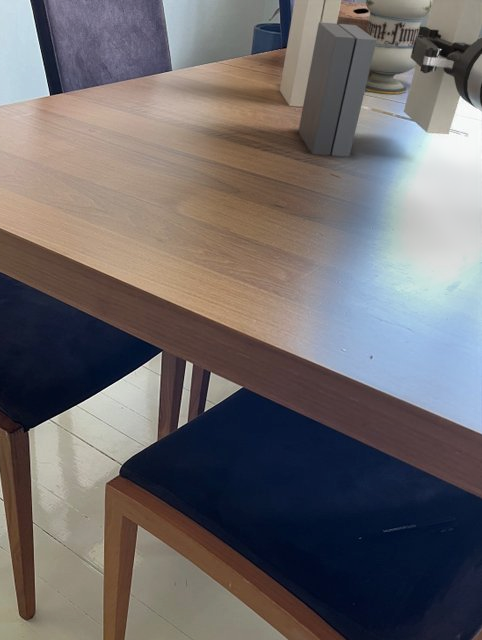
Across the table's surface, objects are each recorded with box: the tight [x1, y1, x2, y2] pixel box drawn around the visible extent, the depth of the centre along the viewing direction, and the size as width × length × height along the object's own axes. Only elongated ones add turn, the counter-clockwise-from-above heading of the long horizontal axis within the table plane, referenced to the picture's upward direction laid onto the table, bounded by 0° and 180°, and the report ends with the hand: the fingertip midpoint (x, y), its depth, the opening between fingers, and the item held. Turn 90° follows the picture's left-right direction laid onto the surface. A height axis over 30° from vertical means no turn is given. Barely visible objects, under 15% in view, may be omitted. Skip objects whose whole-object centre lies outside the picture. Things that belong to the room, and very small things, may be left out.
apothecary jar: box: [365, 0, 433, 95], centre depth 134 cm, size 12×12×18 cm
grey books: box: [297, 22, 377, 157], centre depth 100 cm, size 5×11×15 cm, turn 0°
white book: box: [403, 0, 482, 135], centre depth 97 cm, size 3×11×17 cm, turn 0°
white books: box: [279, 0, 342, 108], centre depth 123 cm, size 5×11×17 cm, turn 0°
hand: (433, 38), depth 101 cm, fingers closed on white book, 3 cm apart
